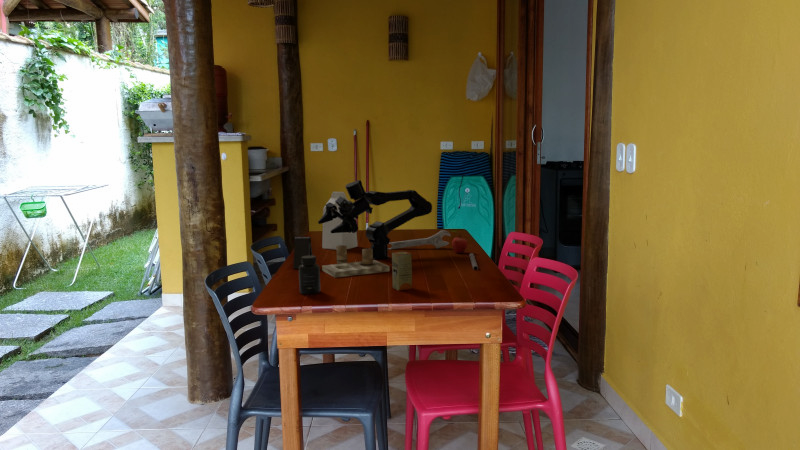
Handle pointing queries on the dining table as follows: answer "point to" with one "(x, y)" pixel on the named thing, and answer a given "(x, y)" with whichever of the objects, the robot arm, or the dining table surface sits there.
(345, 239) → the milk
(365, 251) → the seated peg
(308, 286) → the supplement bottle
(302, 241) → the phone stand
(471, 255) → the metal rod
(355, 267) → the birch board
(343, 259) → the oak peg
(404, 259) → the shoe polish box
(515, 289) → the dining table surface
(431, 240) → the wrench
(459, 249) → the apple
